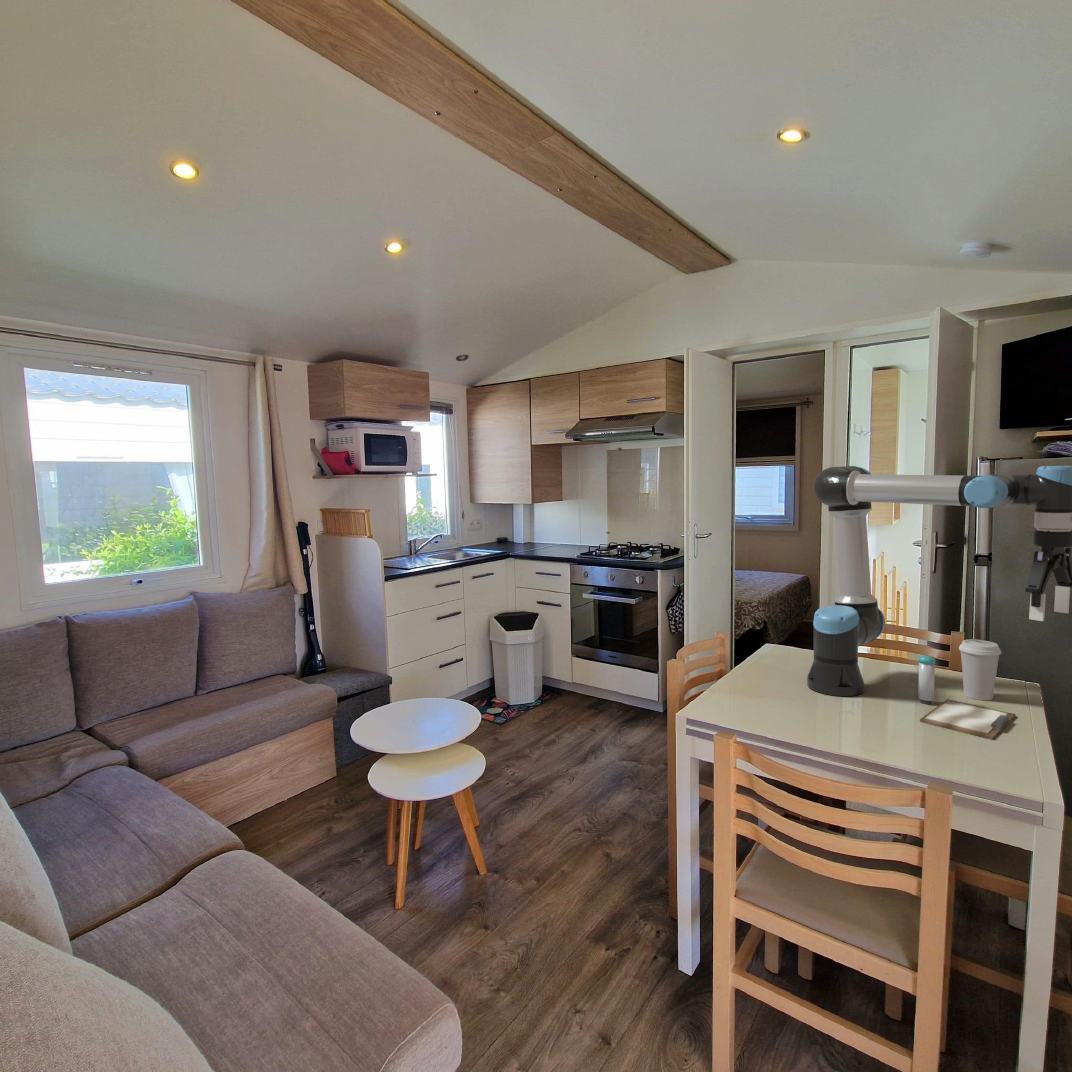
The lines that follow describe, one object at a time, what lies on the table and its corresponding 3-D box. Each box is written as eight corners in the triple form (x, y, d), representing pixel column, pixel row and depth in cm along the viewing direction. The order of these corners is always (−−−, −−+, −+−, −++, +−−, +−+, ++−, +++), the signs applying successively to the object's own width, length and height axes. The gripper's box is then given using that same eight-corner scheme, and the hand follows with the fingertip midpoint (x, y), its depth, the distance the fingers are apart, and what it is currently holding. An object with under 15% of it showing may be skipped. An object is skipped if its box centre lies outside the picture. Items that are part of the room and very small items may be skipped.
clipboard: (919, 721, 154) (920, 715, 153) (947, 701, 166) (947, 695, 166) (992, 739, 142) (992, 733, 142) (1015, 716, 155) (1015, 710, 155)
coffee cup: (1007, 703, 164) (1009, 648, 162) (967, 701, 165) (968, 647, 164) (988, 690, 173) (990, 638, 171) (950, 689, 175) (952, 638, 173)
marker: (915, 702, 166) (916, 657, 165) (921, 698, 169) (922, 654, 168) (931, 706, 163) (932, 660, 162) (936, 702, 166) (938, 657, 165)
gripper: (1050, 534, 138) (1045, 626, 140) (1095, 527, 151) (1089, 611, 153) (1011, 532, 145) (1006, 620, 147) (1057, 525, 157) (1052, 606, 159)
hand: (1049, 616), depth 150 cm, fingers open, 13 cm apart
